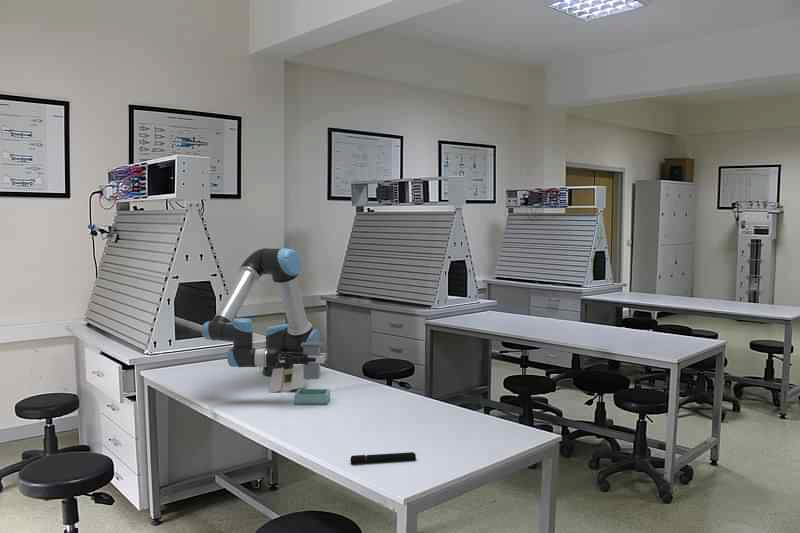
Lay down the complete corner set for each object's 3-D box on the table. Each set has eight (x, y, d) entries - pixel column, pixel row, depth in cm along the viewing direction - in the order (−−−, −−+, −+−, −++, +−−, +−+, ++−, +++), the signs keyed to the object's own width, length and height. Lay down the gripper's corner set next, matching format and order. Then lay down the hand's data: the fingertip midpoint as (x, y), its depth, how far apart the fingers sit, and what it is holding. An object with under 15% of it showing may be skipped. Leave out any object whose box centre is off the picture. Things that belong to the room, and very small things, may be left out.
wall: (310, 398, 266) (310, 369, 276) (305, 387, 260) (306, 358, 270) (273, 404, 266) (275, 375, 277) (267, 393, 260) (269, 364, 271)
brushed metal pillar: (303, 376, 248) (302, 342, 247) (322, 376, 248) (322, 342, 247) (301, 378, 244) (300, 344, 243) (321, 379, 244) (320, 344, 243)
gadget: (415, 450, 187) (349, 454, 184) (416, 453, 185) (350, 457, 182) (414, 458, 188) (349, 463, 184) (416, 462, 185) (350, 466, 182)
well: (298, 398, 251) (298, 388, 251) (330, 398, 251) (330, 388, 251) (294, 404, 242) (294, 394, 242) (327, 404, 242) (327, 395, 242)
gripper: (272, 362, 255) (328, 362, 254) (262, 372, 237) (322, 372, 237) (272, 344, 254) (328, 344, 254) (261, 353, 237) (321, 353, 236)
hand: (325, 358), depth 245 cm, fingers closed on brushed metal pillar, 4 cm apart
